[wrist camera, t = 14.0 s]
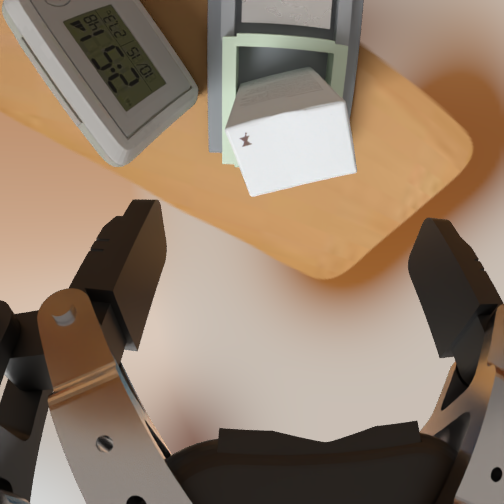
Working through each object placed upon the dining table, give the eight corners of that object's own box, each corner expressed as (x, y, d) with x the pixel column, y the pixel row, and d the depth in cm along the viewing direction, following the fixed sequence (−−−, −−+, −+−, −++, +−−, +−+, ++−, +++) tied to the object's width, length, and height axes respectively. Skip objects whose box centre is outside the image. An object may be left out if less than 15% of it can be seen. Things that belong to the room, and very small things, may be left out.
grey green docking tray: (210, 150, 29) (204, 166, 26) (211, -67, 15) (204, -78, 13) (340, 158, 29) (348, 174, 26) (363, -55, 15) (375, -63, 13)
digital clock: (207, 104, 26) (178, 150, 18) (121, 137, 28) (67, 194, 20) (146, -52, 16) (84, -78, 8) (60, -2, 18) (-19, 7, 10)
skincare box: (254, 128, 26) (247, 200, 17) (239, 82, 24) (220, 127, 15) (324, 112, 25) (359, 175, 16) (312, 64, 22) (345, 97, 13)
